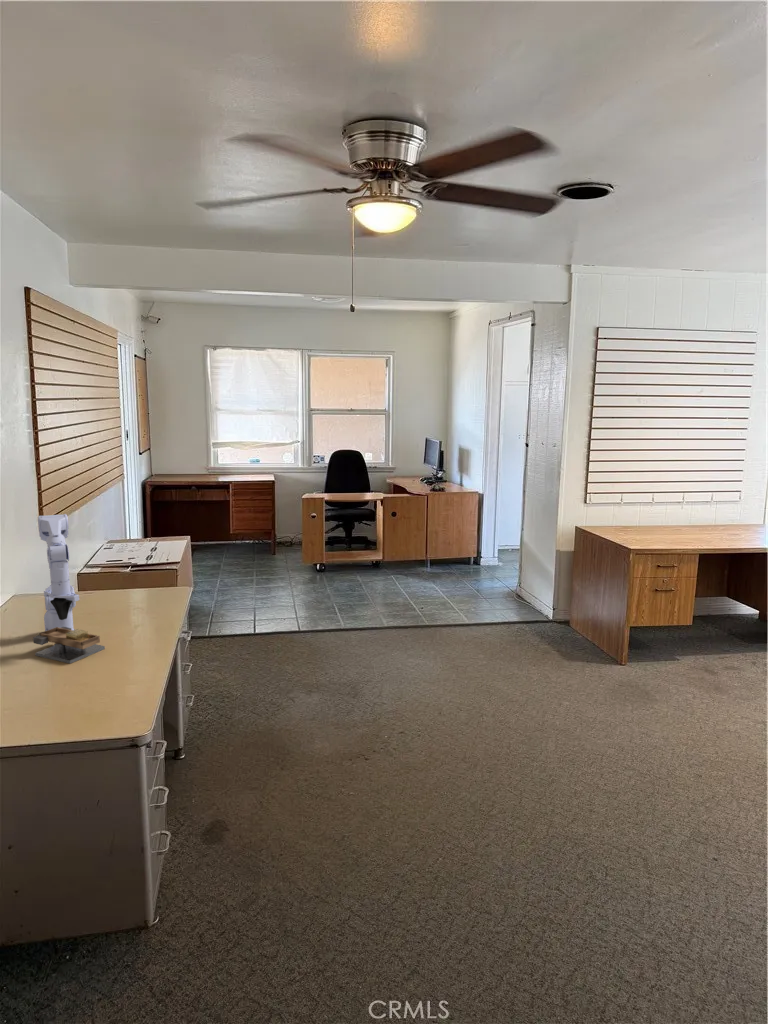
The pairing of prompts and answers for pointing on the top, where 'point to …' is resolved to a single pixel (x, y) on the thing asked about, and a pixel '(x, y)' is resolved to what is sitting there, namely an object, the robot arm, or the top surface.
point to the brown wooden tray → (64, 638)
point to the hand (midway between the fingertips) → (63, 618)
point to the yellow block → (77, 635)
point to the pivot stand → (68, 652)
